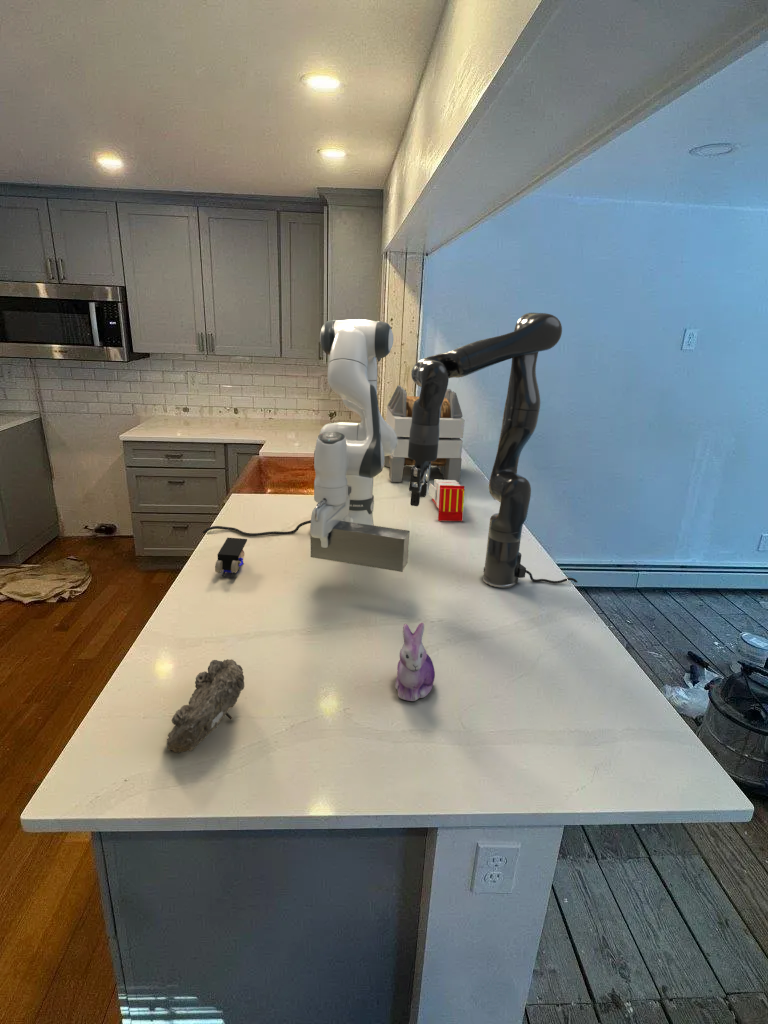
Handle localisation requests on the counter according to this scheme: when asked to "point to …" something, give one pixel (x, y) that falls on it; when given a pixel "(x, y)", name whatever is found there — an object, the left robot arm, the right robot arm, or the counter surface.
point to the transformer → (448, 435)
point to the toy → (448, 499)
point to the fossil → (206, 705)
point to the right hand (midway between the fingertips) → (418, 500)
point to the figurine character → (230, 556)
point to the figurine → (414, 666)
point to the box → (365, 546)
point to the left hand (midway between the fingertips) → (330, 541)
